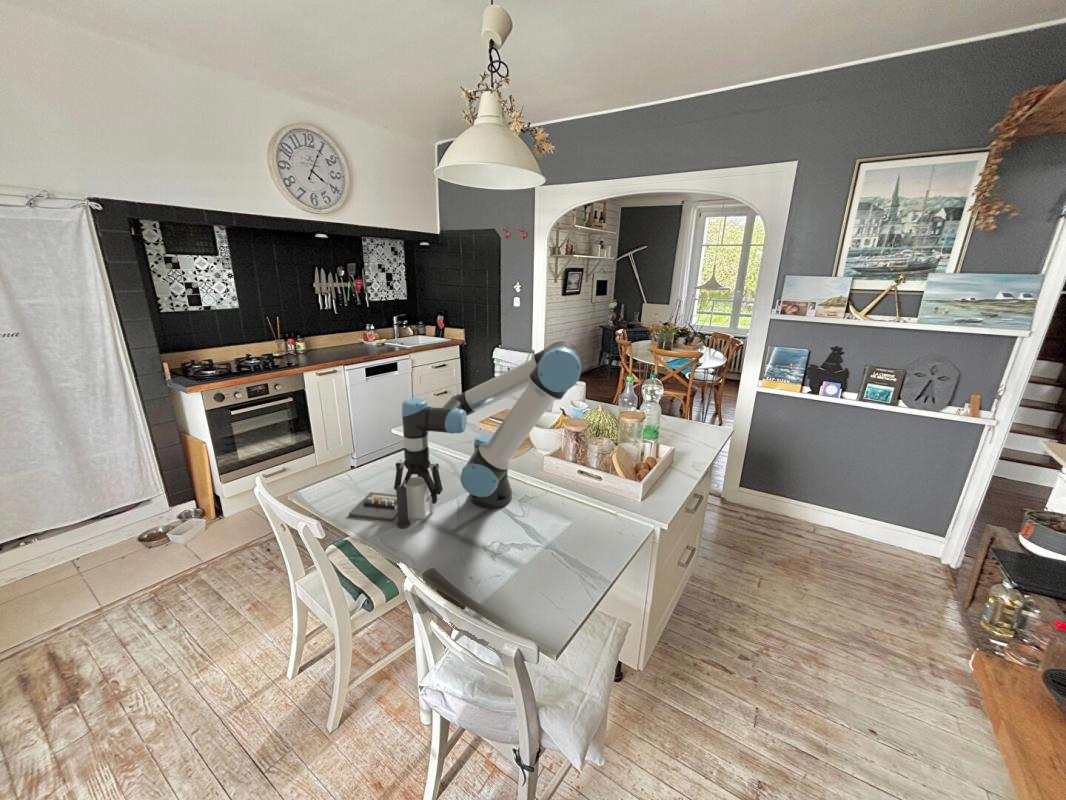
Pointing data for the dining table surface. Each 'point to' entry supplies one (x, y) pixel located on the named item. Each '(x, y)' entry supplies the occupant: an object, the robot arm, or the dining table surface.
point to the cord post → (402, 508)
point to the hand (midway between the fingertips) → (419, 509)
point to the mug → (416, 497)
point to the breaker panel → (377, 507)
